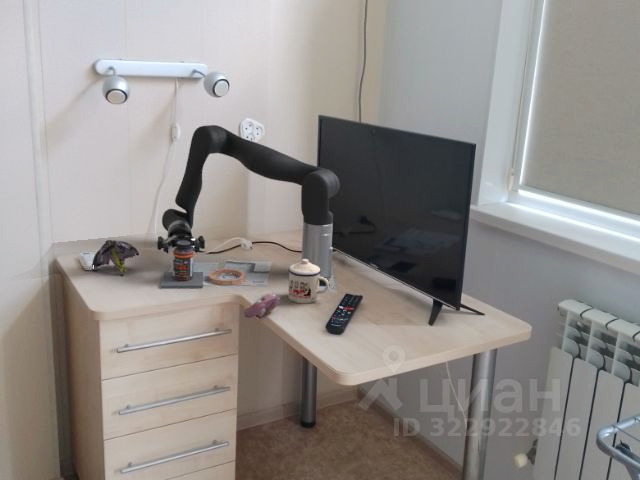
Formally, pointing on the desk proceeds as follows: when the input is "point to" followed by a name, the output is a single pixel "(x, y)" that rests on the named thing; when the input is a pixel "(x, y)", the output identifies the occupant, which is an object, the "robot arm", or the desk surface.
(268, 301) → the video game controller
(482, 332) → the desk surface
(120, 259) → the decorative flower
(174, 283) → the grey mat
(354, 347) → the desk surface
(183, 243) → the supplement bottle
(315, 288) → the teacup with lid
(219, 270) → the terracotta ring
